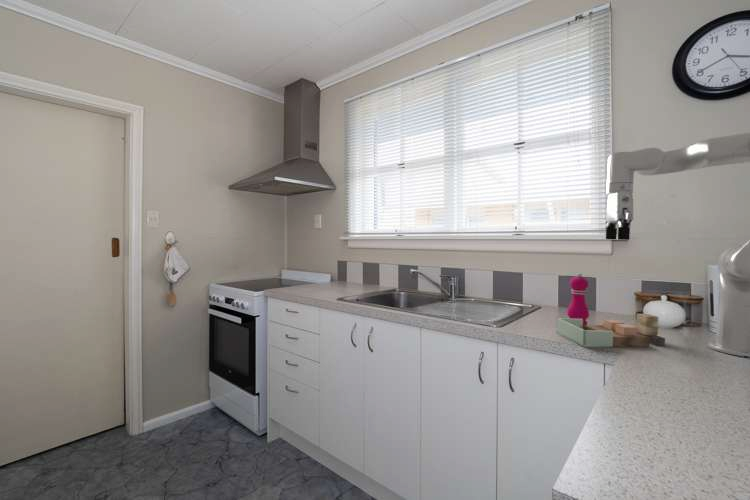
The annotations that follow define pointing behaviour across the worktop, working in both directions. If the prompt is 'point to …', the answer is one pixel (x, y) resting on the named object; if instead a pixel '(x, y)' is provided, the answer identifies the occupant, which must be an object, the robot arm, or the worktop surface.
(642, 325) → the scraper
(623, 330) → the tile
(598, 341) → the tray
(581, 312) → the pepper mill
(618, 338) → the board
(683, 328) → the worktop surface
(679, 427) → the worktop surface
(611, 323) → the tile
